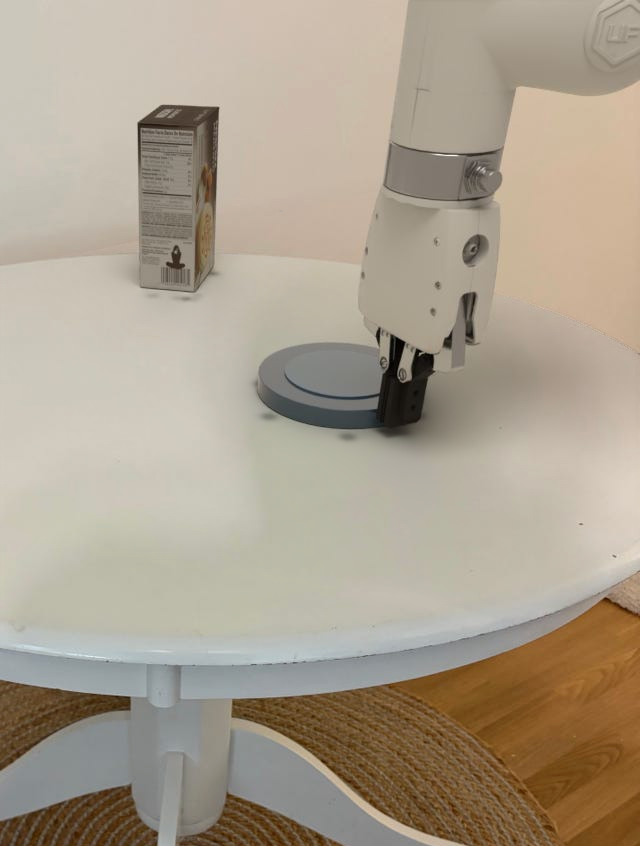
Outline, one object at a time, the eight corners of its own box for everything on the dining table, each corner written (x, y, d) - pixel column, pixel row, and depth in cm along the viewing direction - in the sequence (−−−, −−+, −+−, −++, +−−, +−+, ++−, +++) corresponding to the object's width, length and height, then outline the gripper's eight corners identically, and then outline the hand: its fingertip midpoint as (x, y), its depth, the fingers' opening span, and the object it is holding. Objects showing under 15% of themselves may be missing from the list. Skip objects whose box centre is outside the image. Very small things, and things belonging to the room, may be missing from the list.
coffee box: (160, 261, 112) (160, 102, 102) (215, 266, 110) (221, 105, 100) (137, 288, 105) (135, 120, 95) (196, 293, 104) (200, 124, 94)
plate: (448, 384, 86) (452, 365, 85) (377, 445, 77) (380, 424, 76) (307, 347, 92) (308, 328, 91) (226, 399, 83) (227, 380, 82)
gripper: (562, 192, 63) (498, 452, 74) (416, 143, 73) (380, 377, 85) (470, 206, 60) (418, 473, 72) (332, 153, 71) (306, 393, 82)
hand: (397, 420), depth 78 cm, fingers closed
